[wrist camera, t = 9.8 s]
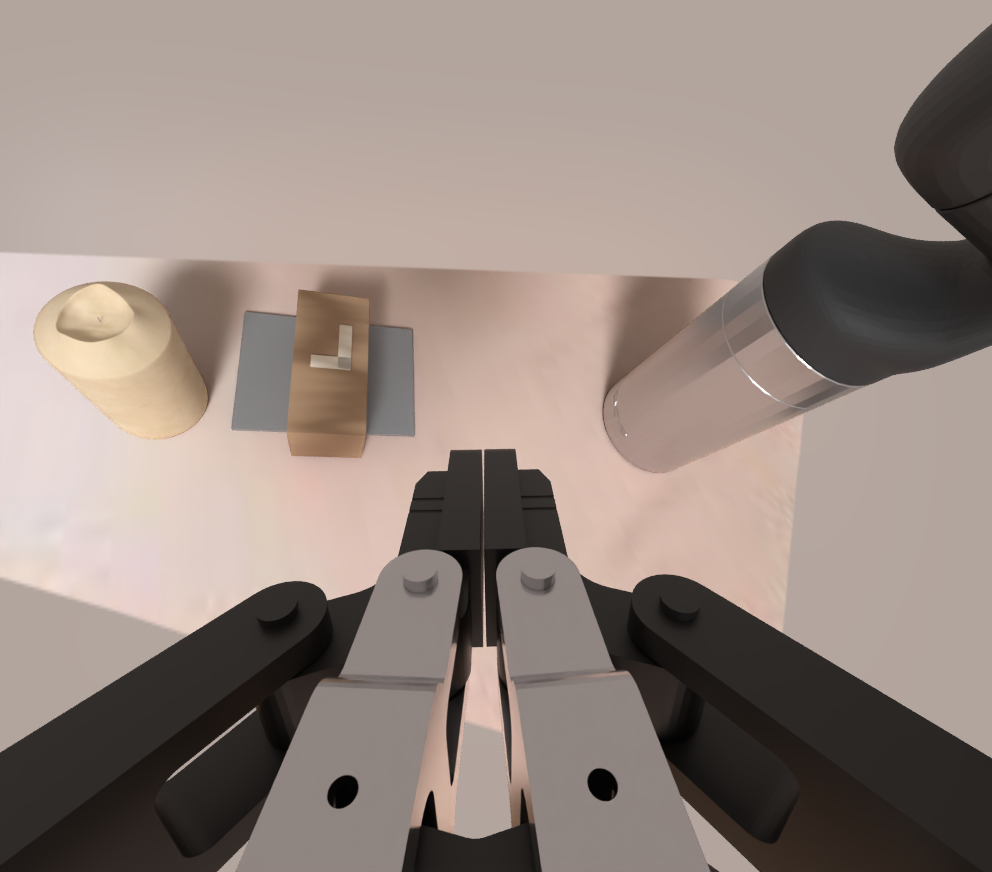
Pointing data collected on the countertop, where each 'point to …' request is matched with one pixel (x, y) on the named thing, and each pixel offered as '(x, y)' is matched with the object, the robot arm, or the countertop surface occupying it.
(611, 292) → the countertop surface
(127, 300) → the candle
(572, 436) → the countertop surface
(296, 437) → the tan rectangular block
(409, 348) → the mat
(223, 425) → the countertop surface
